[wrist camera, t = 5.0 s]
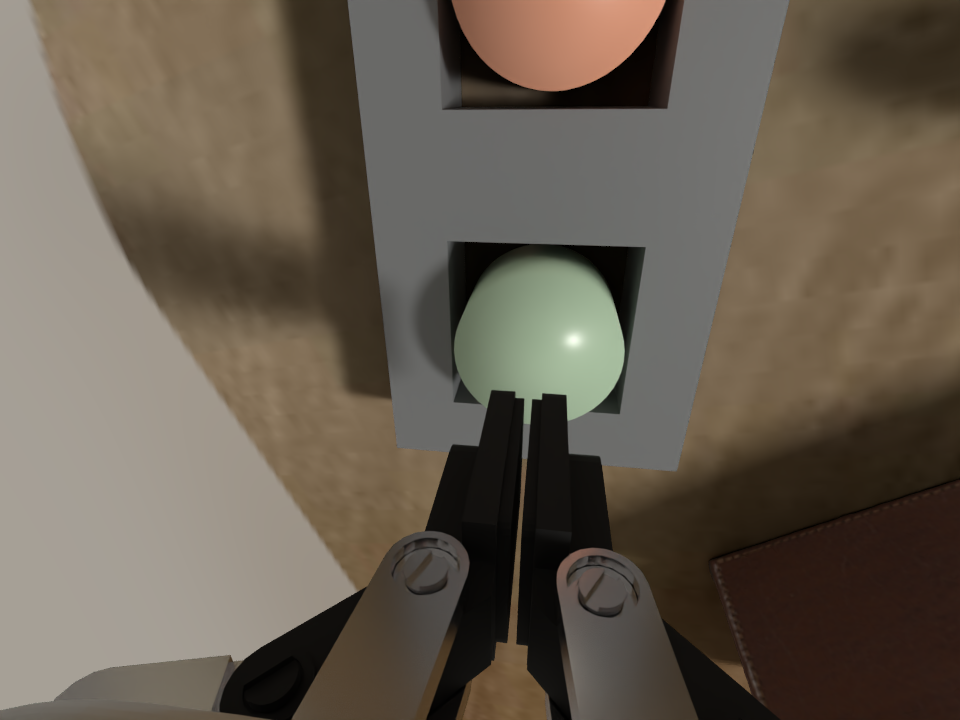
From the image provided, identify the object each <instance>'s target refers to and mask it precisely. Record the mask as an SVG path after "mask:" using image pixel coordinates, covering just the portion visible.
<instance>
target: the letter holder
mask: <svg viewBox="0 0 960 720" xmlns="http://www.w3.org/2000/svg"><path fill="white" fill-rule="evenodd" d="M709 569H710V573H711V577H712V579H713V581H714V583H715V585H716V587H717V590H718V593H719V596H720V599H721V602H722V605H723V608H724V611H725V614H726V617H727V621H728V624H729V627H730V630H731V633H732V636H733V639H734V642H735V645H736V648H737V651H738V654H739V657H740V660H741V663H742V666H743V669H744V673H745V676H746V678H747V681H748V684H749V687H750V691H751V694H752V696H753V697H755V698H756V699H757V700H758V701H759V702H761V703H762V704H763V705H764V706H765V707H766V708H768V709H769V710H770V711H771V712H772V713H773V714H775V715H776V716H777V717H778V718H779V719H780V720H960V479H959V480H956V481H953V482H950V483H947V484H944V485H940V486H938V487H935V488H931V489H928V490H924V491H921V492H918V493H916V494H911V495H908V496H906V497H903V498H901V499H897V500H894V501H891V502H888V503H884V504H881V505H878V506H875V507H872V508H869V509H867V510H863V511H860V512H857V513H854V514H848V515H847V516H843V517H840V518H838V519H836V520H831V521H829V522H827V523H822V524H819V525H816V526H814V527H811V528H807V529H804V530H801V531H798V532H795V533H792V534H789V535H786V536H783V537H780V538H777V539H774V540H771V541H768V542H765V543H761V544H759V545H756V546H752V547H749V548H746V549H743V550H740V551H737V552H733V553H731V554H728V555H725V556H722V557H718V558H715V559H712V560H710V561H709Z"/></svg>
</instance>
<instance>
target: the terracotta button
mask: <svg viewBox="0 0 960 720" xmlns="http://www.w3.org/2000/svg"><path fill="white" fill-rule="evenodd" d="M665 1H666V0H452V3H453V7H454V10H455V13H456V16H457V19H458V21H459V24H460V26H461V28H462V31H463V33H464V34H465V36H466V38H467V39H468V41H469V43H470V45H471V46H472V47H473V49H474V50H475V51H476V53H477V54H478V55H479V57H480V58H481V59H482V60H483V61H484V62H485V63H486V64H487V65H488V66H489V67H490V68H491V69H493V70H494V71H495V72H497V73H498V74H499V75H501V76H502V77H504V78H506V79H507V80H509V81H511V82H513V83H515V84H518V85H521V86H523V87H526V88H531V89H535V90H541V91H564V90H569V89H573V88H577V87H580V86H583V85H585V84H588V83H591V82H593V81H595V80H597V79H599V78H601V77H602V76H604V75H606V74H608V73H609V72H610V71H612V70H613V69H615V68H616V67H617V66H619V65H620V64H621V63H622V62H623V61H624V60H625V59H626V58H628V57H629V56H630V55H631V54H632V53H633V51H634V50H635V49H636V48H637V47H638V46H639V45H640V43H641V42H642V41H643V40H644V38H645V37H646V35H647V34H648V33H649V31H650V30H651V28H652V27H653V25H654V23H655V21H656V19H657V18H658V16H659V14H660V12H661V10H662V8H663V6H664V3H665Z"/></svg>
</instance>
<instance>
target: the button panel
mask: <svg viewBox="0 0 960 720" xmlns="http://www.w3.org/2000/svg"><path fill="white" fill-rule="evenodd" d="M788 4H789V0H666V1H665V3H664V6H663V8H662V10H661V15H660V22H659V29H658V36H657V44H656V51H655V58H654V65H653V73H652V80H651V87H650V94H649V101H648V106H552V107H462V98H461V54H460V24H459V21H458V19H457V16H456V13H455V10H454V7H453V3H452V0H348V9H349V18H350V27H351V36H352V45H353V54H354V63H355V72H356V81H357V90H358V99H359V108H360V117H361V126H362V135H363V144H364V153H365V162H366V171H367V180H368V189H369V198H370V207H371V216H372V225H373V234H374V243H375V252H376V261H377V270H378V279H379V288H380V297H381V306H382V315H383V324H384V333H385V342H386V351H387V360H388V369H389V378H390V387H391V396H392V405H393V414H394V423H395V432H396V441H397V448H407V449H419V450H431V451H442V452H449V451H450V449H451V446H452V445H453V444H457V445H470V446H479V442H480V438H481V433H482V429H483V424H484V420H485V416H486V411H487V408H486V407H485V406H483V405H482V404H481V403H480V402H478V401H477V400H476V399H475V397H474V396H473V395H472V394H471V393H470V392H469V390H468V389H467V388H466V386H465V385H464V383H463V381H462V379H461V377H460V375H459V372H458V370H457V366H456V362H455V355H454V341H455V336H456V331H457V328H458V325H459V322H460V320H461V318H462V315H463V313H464V311H465V308H466V276H465V242H493V243H527V244H560V245H593V246H626V247H628V253H627V260H626V267H625V275H624V282H623V289H622V296H621V303H620V311H619V318H618V320H619V323H620V327H621V331H622V335H623V339H624V349H625V352H624V363H623V367H622V371H621V374H620V376H619V379H618V381H617V383H616V384H615V386H614V388H613V389H612V391H611V392H610V393H609V395H608V396H607V397H606V398H605V399H604V400H603V401H602V402H601V403H600V404H599V405H597V406H596V407H595V408H594V409H592V410H591V411H589V412H587V413H586V414H584V415H582V416H580V417H577V418H575V419H572V420H569V421H568V445H569V454H581V455H594V456H600V458H601V464H602V465H607V466H619V467H631V468H642V469H654V470H666V471H677V468H678V464H679V460H680V456H681V452H682V447H683V443H684V439H685V435H686V431H687V426H688V422H689V418H690V414H691V410H692V406H693V401H694V397H695V393H696V389H697V385H698V380H699V376H700V372H701V368H702V364H703V360H704V355H705V351H706V347H707V343H708V339H709V334H710V330H711V326H712V322H713V318H714V314H715V309H716V305H717V301H718V297H719V293H720V288H721V284H722V280H723V276H724V272H725V268H726V263H727V259H728V255H729V251H730V247H731V242H732V238H733V234H734V230H735V226H736V222H737V217H738V213H739V209H740V205H741V201H742V197H743V192H744V188H745V184H746V180H747V176H748V171H749V167H750V163H751V159H752V155H753V151H754V146H755V142H756V138H757V134H758V130H759V125H760V121H761V117H762V113H763V109H764V105H765V100H766V96H767V92H768V88H769V84H770V79H771V75H772V71H773V67H774V63H775V59H776V54H777V50H778V46H779V42H780V38H781V33H782V29H783V25H784V21H785V17H786V13H787V8H788ZM529 433H530V424H524V425H523V448H522V458H525V459H527V458H528V445H529Z"/></svg>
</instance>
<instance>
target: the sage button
mask: <svg viewBox="0 0 960 720" xmlns="http://www.w3.org/2000/svg"><path fill="white" fill-rule="evenodd" d="M624 352H625V349H624V339H623V335H622V331H621V327H620V323H619V320H618V316H617V312H616V308H615V304H614V301H613V297H612V293H611V290H610V288H609V285H608V283H607V281H606V279H605V277H604V276H603V274H602V273H601V272H600V270H599V269H598V268H597V267H596V266H595V265H594V264H593V263H592V262H591V261H590V260H588V259H587V258H586V257H584V256H583V255H581V254H579V253H577V252H575V251H574V250H571V249H568V248H566V247H562V246H558V245H551V244H532V245H526V246H522V247H519V248H516V249H513V250H511V251H509V252H507V253H505V254H503V255H502V256H500V257H498V258H497V259H496V260H495V261H493V262H492V263H491V264H490V265H489V266H488V267H487V268H486V269H485V270H484V272H483V273H482V275H481V276H480V277H479V279H478V281H477V283H476V285H475V287H474V290H473V292H472V294H471V297H470V299H469V301H468V304H467V306H466V308H465V311H464V313H463V315H462V318H461V320H460V322H459V325H458V328H457V331H456V336H455V341H454V355H455V362H456V366H457V370H458V372H459V375H460V377H461V379H462V381H463V383H464V385H465V386H466V388H467V389H468V390H469V392H470V393H471V394H472V395H473V396H474V397H475V399H476V400H477V401H478V402H480V403H481V404H482V405H483V406H485V407H486V408H487V407H488V402H489V398H490V393H491V390H501V391H515V392H516V398H524V399H525V400H524V424H530V420H531V408H532V399H541V400H542V393H547V394H562V395H567V419H568V421H569V420H572V419H575V418H577V417H580V416H582V415H584V414H586V413H587V412H589V411H591V410H592V409H594V408H595V407H596V406H597V405H599V404H600V403H601V402H602V401H603V400H604V399H605V398H606V397H607V396H608V395H609V393H610V392H611V391H612V389H613V388H614V386H615V384H616V383H617V381H618V379H619V376H620V374H621V371H622V367H623V363H624Z"/></svg>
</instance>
